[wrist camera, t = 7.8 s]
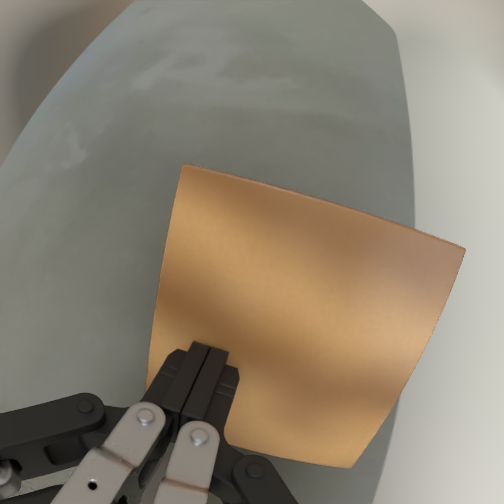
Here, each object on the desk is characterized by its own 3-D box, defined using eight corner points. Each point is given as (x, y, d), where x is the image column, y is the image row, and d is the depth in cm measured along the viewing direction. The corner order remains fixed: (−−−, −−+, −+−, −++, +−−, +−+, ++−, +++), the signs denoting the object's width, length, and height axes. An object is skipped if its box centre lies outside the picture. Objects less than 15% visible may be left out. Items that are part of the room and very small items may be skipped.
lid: (189, 163, 12) (182, 163, 11) (458, 244, 11) (466, 249, 10) (148, 405, 15) (142, 414, 14) (349, 458, 14) (350, 469, 14)
